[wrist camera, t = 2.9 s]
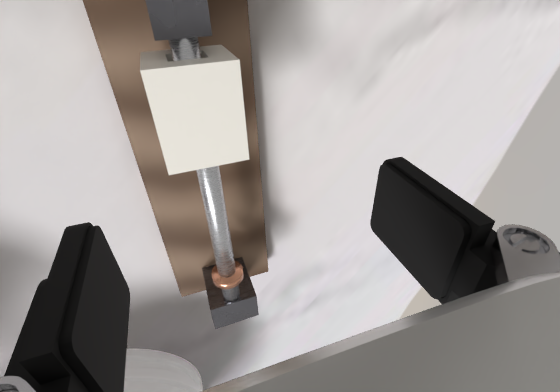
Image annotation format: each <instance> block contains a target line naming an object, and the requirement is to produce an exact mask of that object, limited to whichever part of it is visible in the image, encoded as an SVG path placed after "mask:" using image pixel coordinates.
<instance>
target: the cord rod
mask: <svg viewBox="0 0 560 392" xmlns="http://www.w3.org/2000/svg"><path fill="white" fill-rule="evenodd" d="M145 1H146V5H147V9H148V14H149V18H150V22H151V26H152V30H153V35H154V39H155V41H159V40H169V45H170V50H171V54H172V59H173V61H179V60H188V59H198V58H201V53H200V47H199V41H198V37H205V36H212V30H211V23H210V16H209V8H208V1H207V0H145ZM196 171H197V176H198V181H199V185H200V190H201V195H202V199H203V204H204V209H205V213H206V218H207V223H208V228H209V232H210V237H211V242H212V246H213V251H214V256H215V260H216V264H215V265H211V266H207V267H204V268H202V271H203V276H204V281H205V286H206V290H207V295H208V300H209V305H210V310H211V314H212V318H213V322H214V325H215V329H217V328H220V327H223V326H226V325H229V324H232V323H235V322H238V321H241V320H244V319H247V318H250V317H253V316H256V315H259V314H258V306H257V297H256V294H255V291H254V288H253V285H252V282H251V280H250V277H249V274H248V271H247V269H246V266H245V263H244V260H243V257H240V258H236V259H234V254H233V248H232V242H231V236H230V230H229V224H228V218H227V212H226V206H225V200H224V193H223V187H222V181H221V175H220V169H219V166H214V167H209V168H204V169H199V170H196Z"/></svg>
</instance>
